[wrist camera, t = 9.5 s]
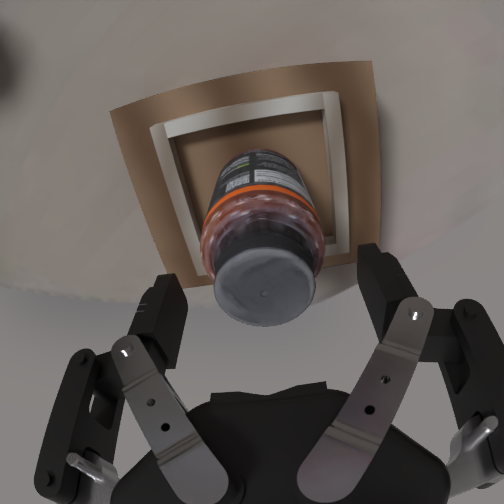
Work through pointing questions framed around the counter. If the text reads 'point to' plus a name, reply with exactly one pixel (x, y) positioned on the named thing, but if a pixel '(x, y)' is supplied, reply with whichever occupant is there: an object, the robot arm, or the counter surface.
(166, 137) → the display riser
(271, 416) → the robot arm
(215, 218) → the supplement bottle
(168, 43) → the counter surface
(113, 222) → the counter surface
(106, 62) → the counter surface
